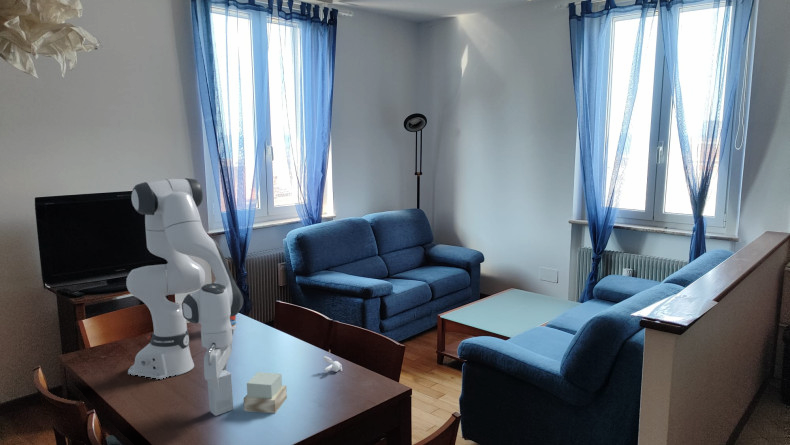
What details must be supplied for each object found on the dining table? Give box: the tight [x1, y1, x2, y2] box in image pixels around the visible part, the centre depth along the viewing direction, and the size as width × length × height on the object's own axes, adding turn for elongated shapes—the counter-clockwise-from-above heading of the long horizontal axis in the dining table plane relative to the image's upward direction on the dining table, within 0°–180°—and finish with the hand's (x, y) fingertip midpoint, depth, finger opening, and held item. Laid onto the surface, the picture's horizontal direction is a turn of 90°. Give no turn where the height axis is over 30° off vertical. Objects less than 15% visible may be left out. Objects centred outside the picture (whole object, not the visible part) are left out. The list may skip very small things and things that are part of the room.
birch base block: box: [243, 384, 288, 414], centre depth 170 cm, size 10×10×4 cm
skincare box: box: [206, 369, 234, 416], centre depth 165 cm, size 6×4×12 cm
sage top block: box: [246, 371, 283, 399], centre depth 169 cm, size 8×8×4 cm
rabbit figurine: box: [322, 355, 343, 373], centre depth 193 cm, size 6×4×8 cm
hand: (219, 381), depth 164 cm, fingers open, 8 cm apart
